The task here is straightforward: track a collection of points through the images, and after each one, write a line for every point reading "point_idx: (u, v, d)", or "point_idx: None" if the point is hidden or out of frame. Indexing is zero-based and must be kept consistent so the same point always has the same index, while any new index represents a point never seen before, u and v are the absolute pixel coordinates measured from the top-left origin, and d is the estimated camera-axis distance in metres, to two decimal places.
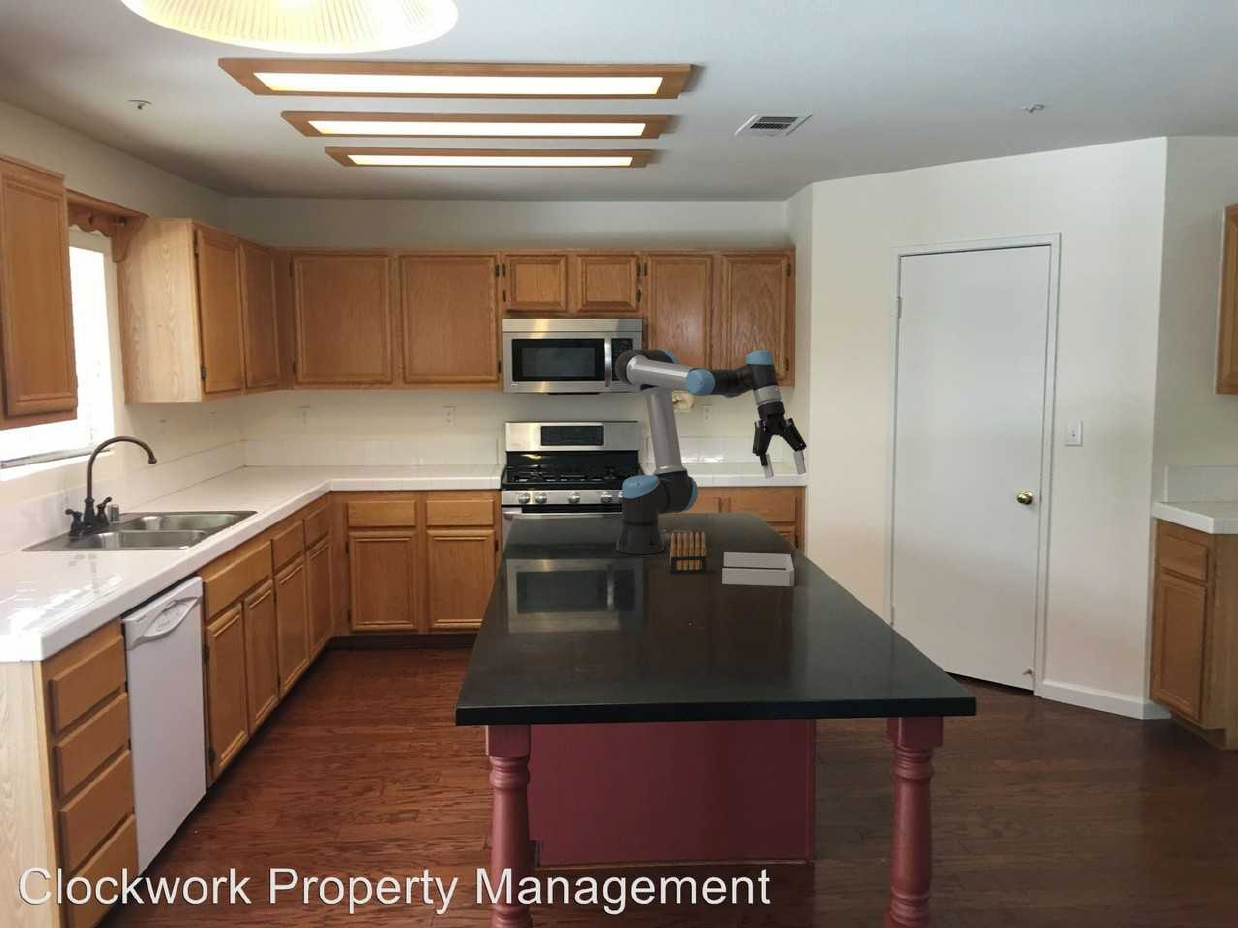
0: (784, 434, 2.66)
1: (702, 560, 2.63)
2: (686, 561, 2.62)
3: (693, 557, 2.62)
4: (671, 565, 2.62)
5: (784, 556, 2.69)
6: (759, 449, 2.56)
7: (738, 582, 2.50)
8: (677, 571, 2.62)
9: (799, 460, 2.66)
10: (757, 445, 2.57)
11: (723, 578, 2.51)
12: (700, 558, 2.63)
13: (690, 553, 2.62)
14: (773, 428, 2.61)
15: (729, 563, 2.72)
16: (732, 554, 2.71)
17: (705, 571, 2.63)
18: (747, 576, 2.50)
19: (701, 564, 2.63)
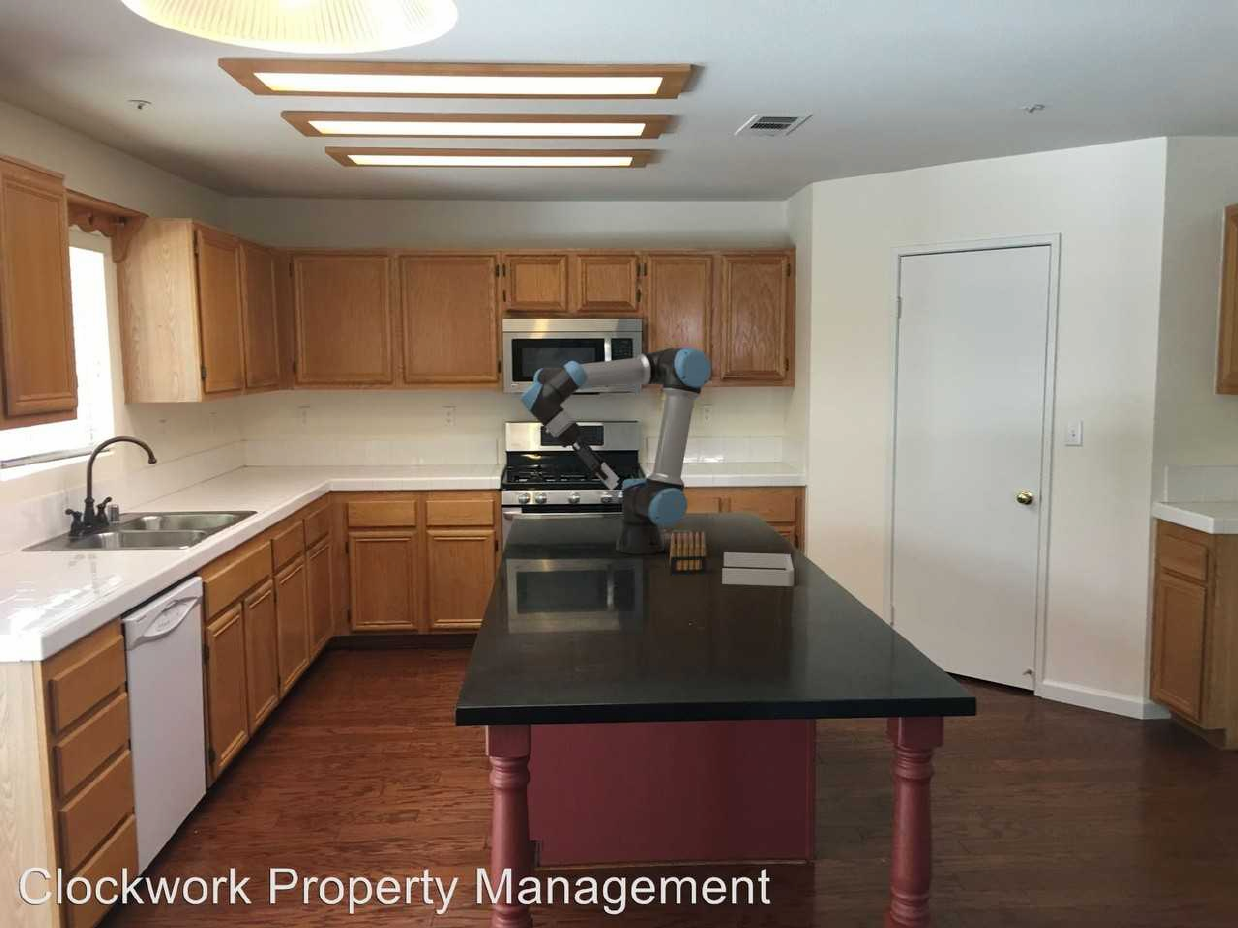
0: None
1: (702, 560, 2.63)
2: (686, 561, 2.62)
3: (693, 557, 2.62)
4: (671, 565, 2.62)
5: (784, 556, 2.69)
6: None
7: (738, 582, 2.50)
8: (677, 571, 2.62)
9: None
10: None
11: (723, 578, 2.51)
12: (700, 558, 2.63)
13: (690, 553, 2.62)
14: None
15: (729, 563, 2.72)
16: (732, 554, 2.71)
17: (705, 571, 2.63)
18: (747, 576, 2.50)
19: (701, 564, 2.63)
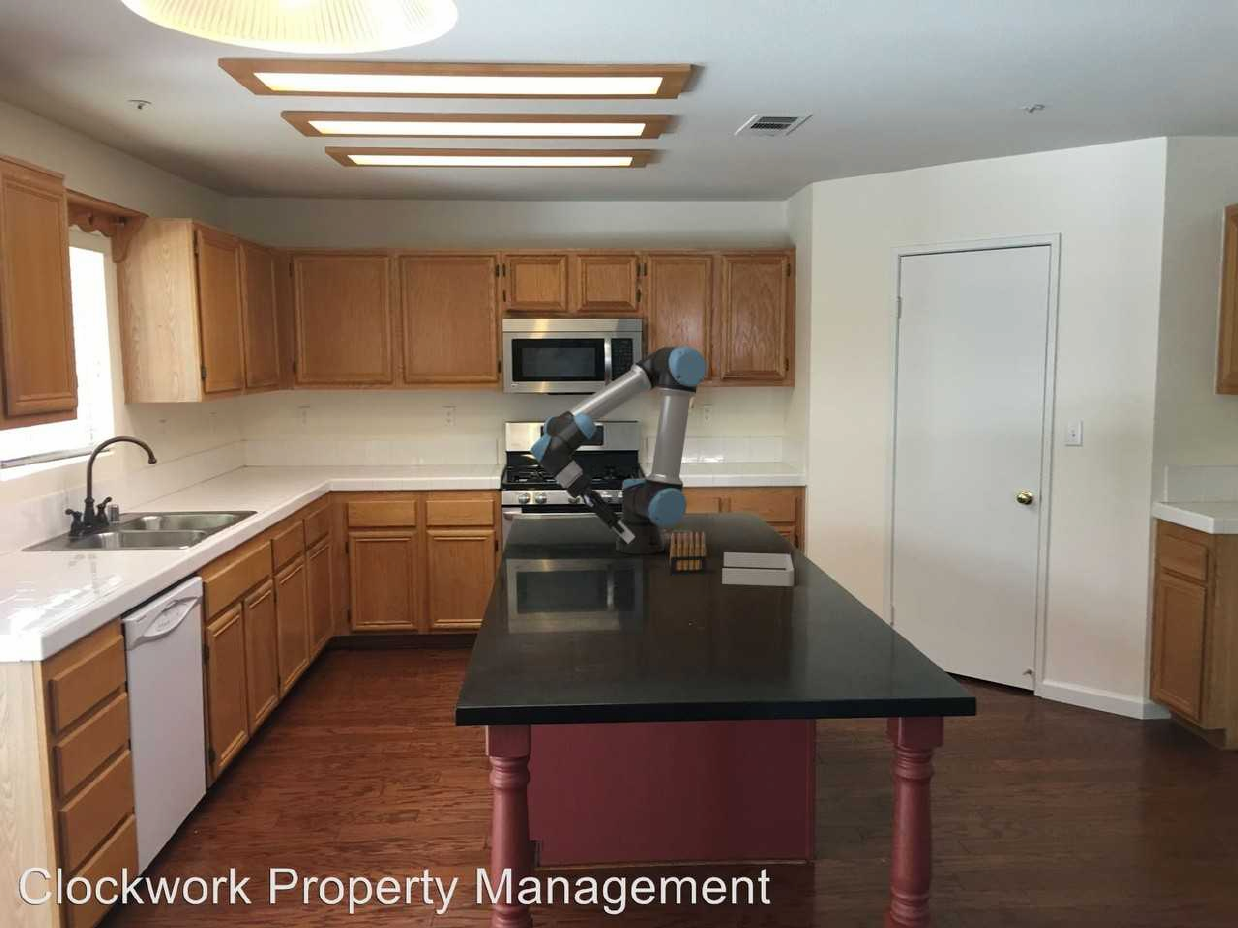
0: None
1: (702, 560, 2.63)
2: (686, 561, 2.62)
3: (693, 557, 2.62)
4: (671, 565, 2.62)
5: (784, 556, 2.69)
6: None
7: (738, 582, 2.50)
8: (677, 571, 2.62)
9: None
10: None
11: (723, 578, 2.51)
12: (700, 558, 2.63)
13: (690, 553, 2.62)
14: None
15: (729, 563, 2.72)
16: (732, 554, 2.71)
17: (705, 571, 2.63)
18: (747, 576, 2.50)
19: (701, 564, 2.63)
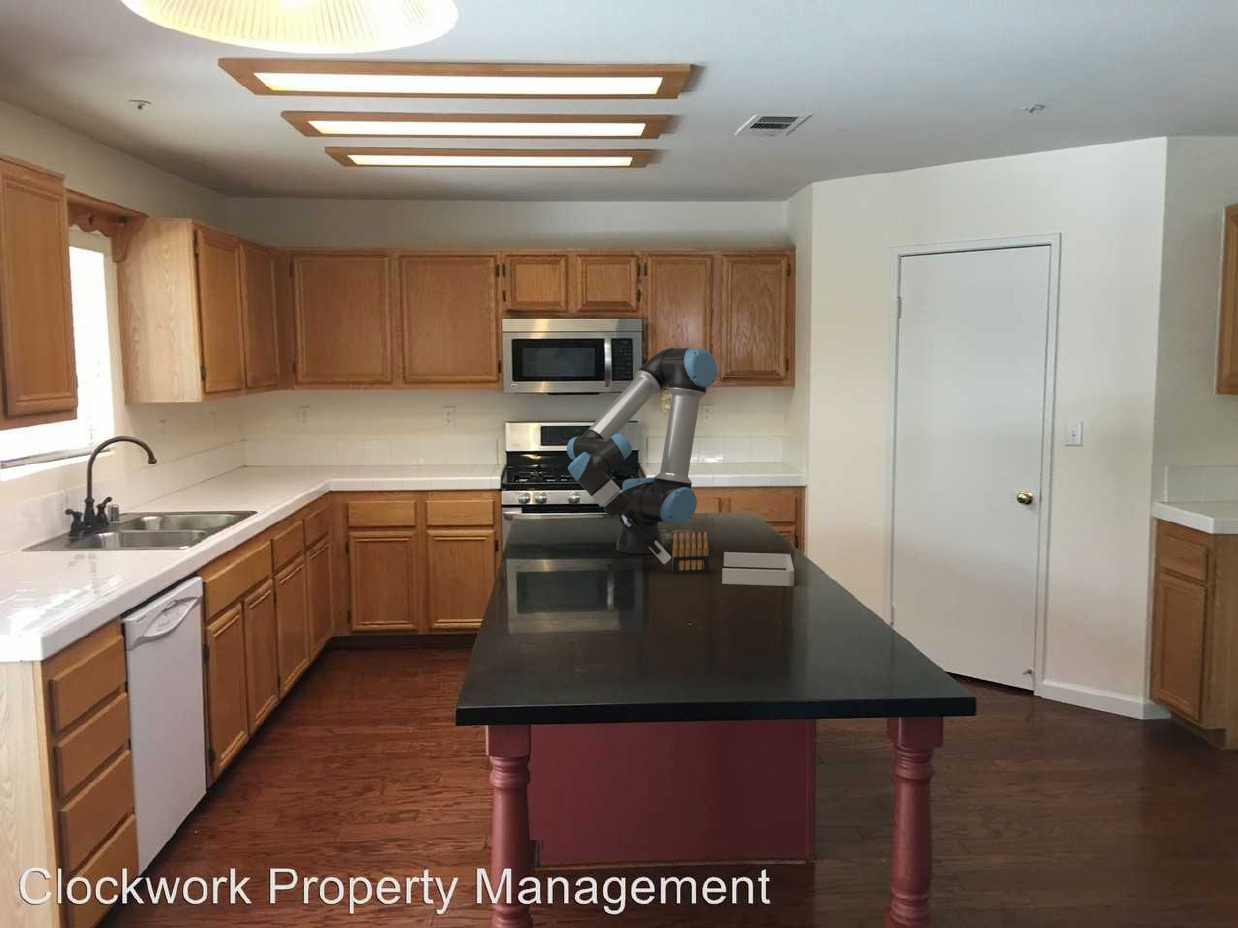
0: None
1: (704, 560, 2.63)
2: (688, 561, 2.62)
3: (695, 557, 2.62)
4: (673, 565, 2.61)
5: (784, 556, 2.69)
6: None
7: (738, 582, 2.50)
8: (679, 571, 2.62)
9: None
10: None
11: (723, 578, 2.51)
12: (702, 558, 2.62)
13: (692, 553, 2.62)
14: None
15: (729, 563, 2.72)
16: (732, 554, 2.71)
17: (707, 571, 2.63)
18: (747, 576, 2.50)
19: (703, 564, 2.63)
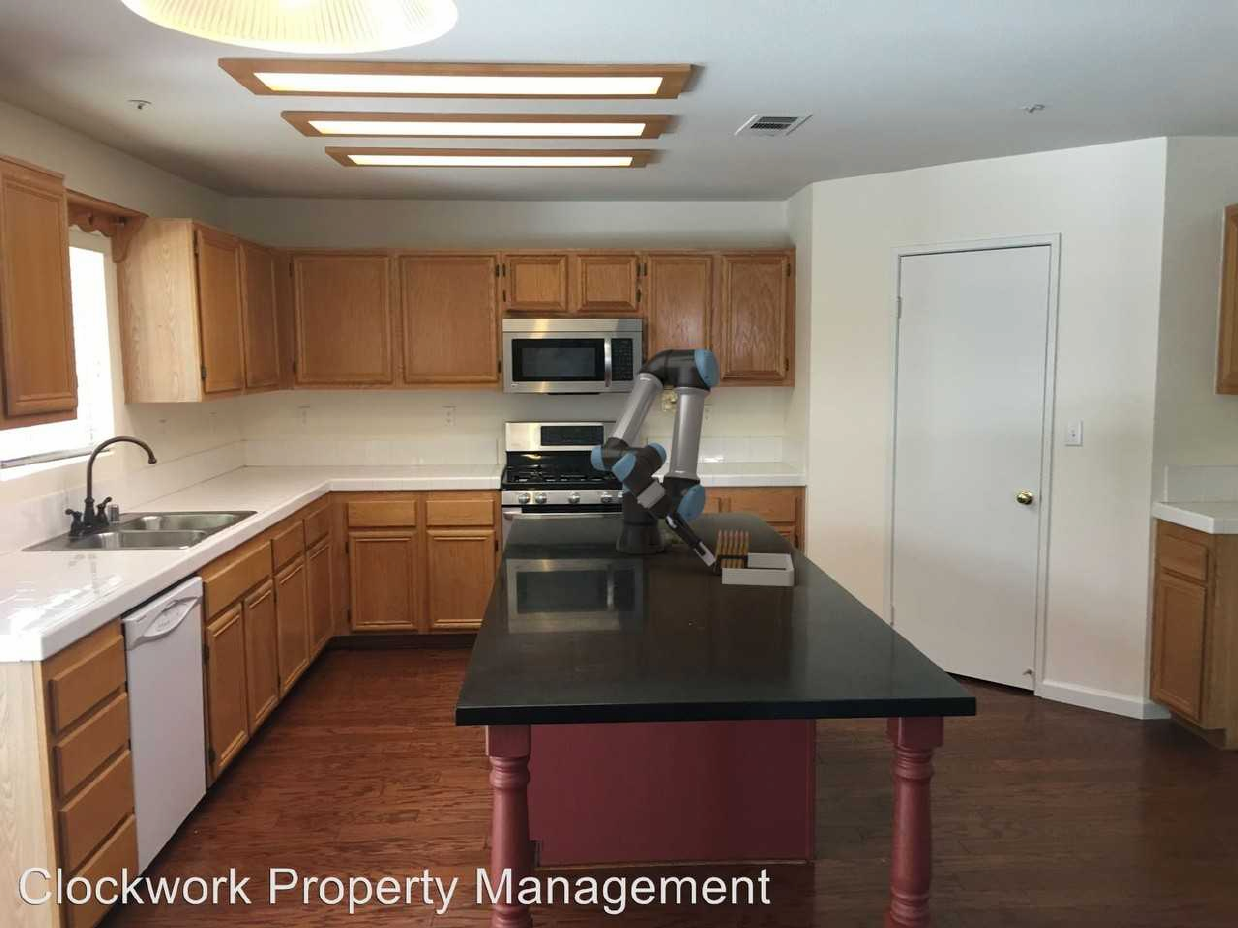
0: None
1: (744, 559, 2.63)
2: (730, 560, 2.61)
3: (736, 556, 2.62)
4: (717, 563, 2.59)
5: (784, 556, 2.69)
6: None
7: (738, 582, 2.50)
8: (721, 569, 2.60)
9: None
10: None
11: (723, 578, 2.51)
12: (743, 557, 2.62)
13: (734, 552, 2.61)
14: None
15: None
16: None
17: None
18: (747, 576, 2.50)
19: (743, 563, 2.63)
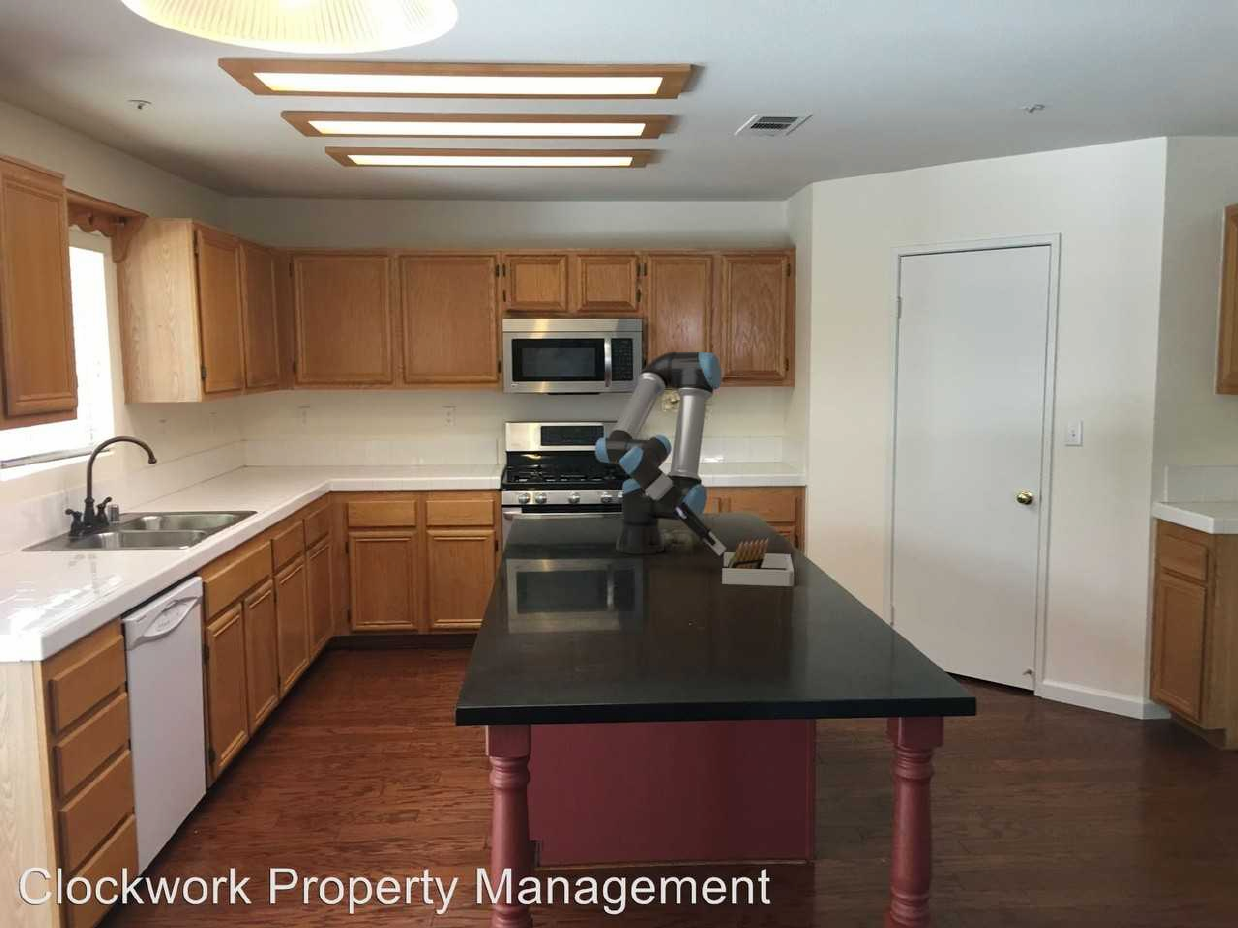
0: None
1: (759, 562, 2.62)
2: (745, 564, 2.60)
3: (752, 561, 2.60)
4: None
5: (784, 556, 2.69)
6: None
7: (738, 582, 2.50)
8: None
9: None
10: None
11: (723, 578, 2.51)
12: (758, 561, 2.61)
13: (751, 558, 2.59)
14: None
15: None
16: (732, 554, 2.71)
17: None
18: (747, 576, 2.50)
19: (757, 565, 2.63)
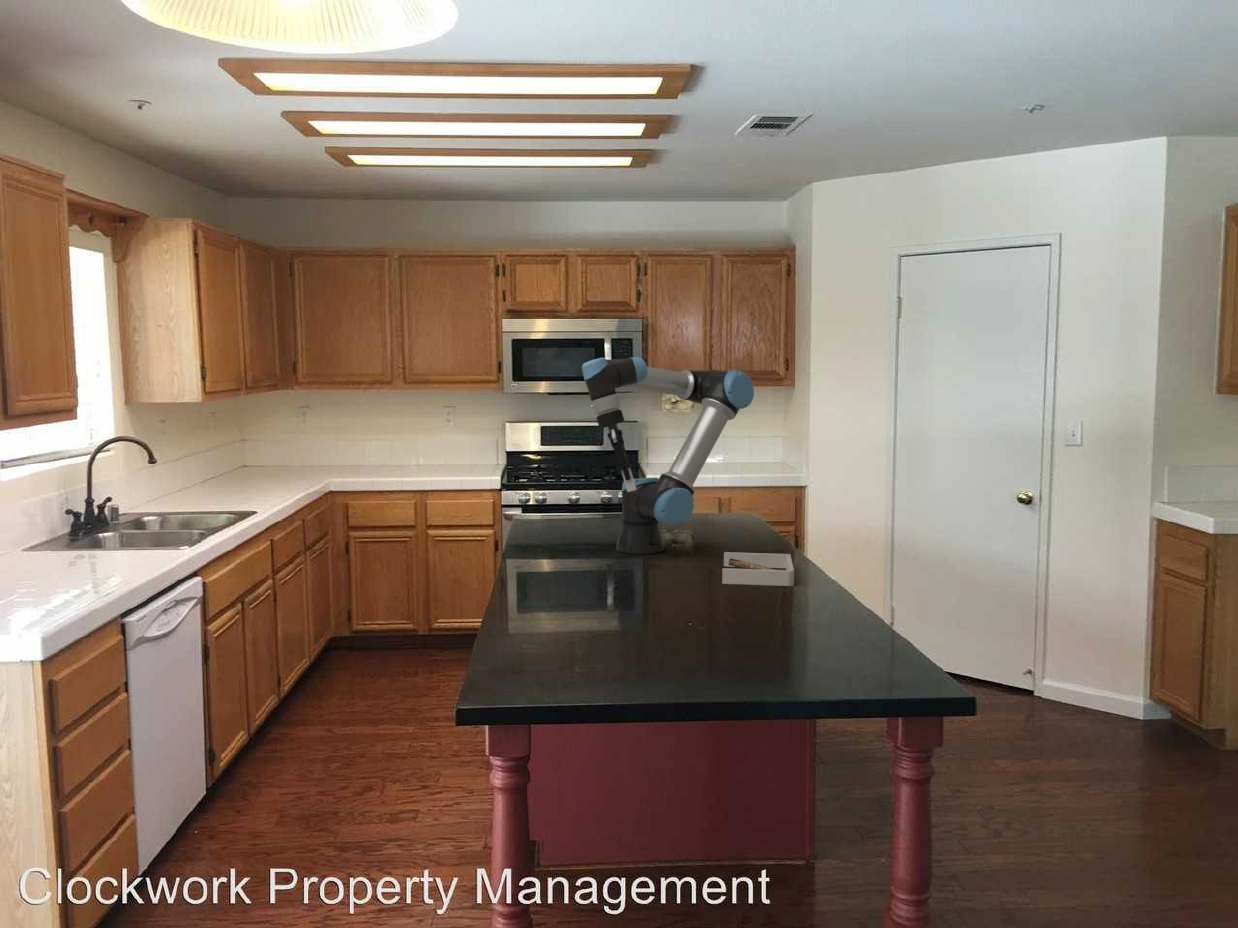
0: None
1: None
2: None
3: None
4: (734, 565, 2.58)
5: (784, 556, 2.69)
6: None
7: (738, 582, 2.50)
8: (736, 566, 2.61)
9: None
10: None
11: (723, 578, 2.51)
12: None
13: None
14: None
15: None
16: (732, 554, 2.71)
17: None
18: (747, 576, 2.50)
19: None
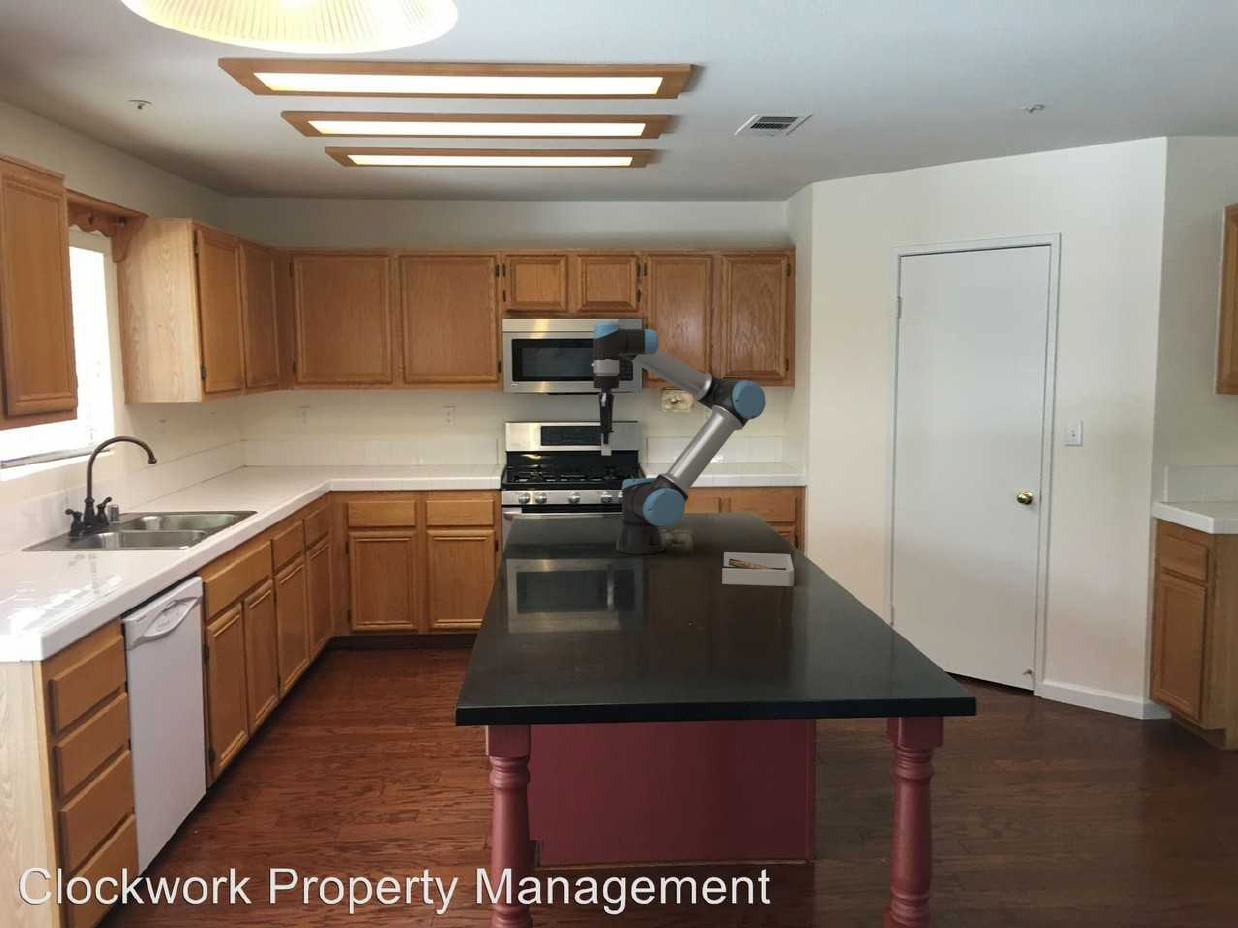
0: None
1: None
2: None
3: None
4: None
5: (784, 556, 2.69)
6: None
7: (738, 582, 2.50)
8: None
9: None
10: None
11: (723, 578, 2.51)
12: None
13: None
14: None
15: None
16: (732, 554, 2.71)
17: None
18: (747, 576, 2.50)
19: None
